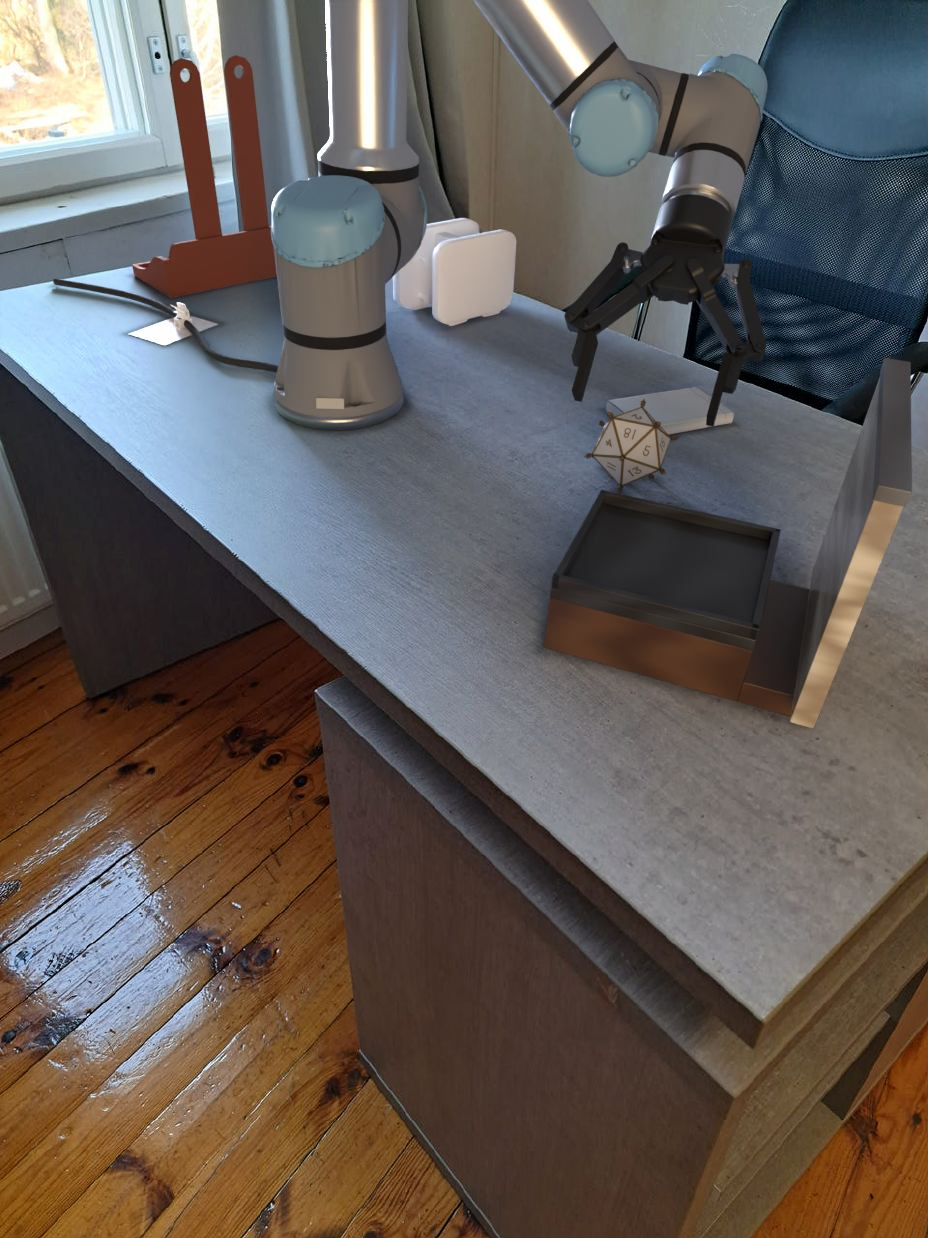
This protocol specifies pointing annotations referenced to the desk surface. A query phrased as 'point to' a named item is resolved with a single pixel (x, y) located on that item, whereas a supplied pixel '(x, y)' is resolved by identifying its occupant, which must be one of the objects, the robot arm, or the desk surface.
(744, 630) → the holder
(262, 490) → the desk surface
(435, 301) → the cable organizer
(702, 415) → the hard drive
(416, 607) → the desk surface
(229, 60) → the hanging shelf
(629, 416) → the game die
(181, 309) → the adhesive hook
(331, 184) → the robot arm
